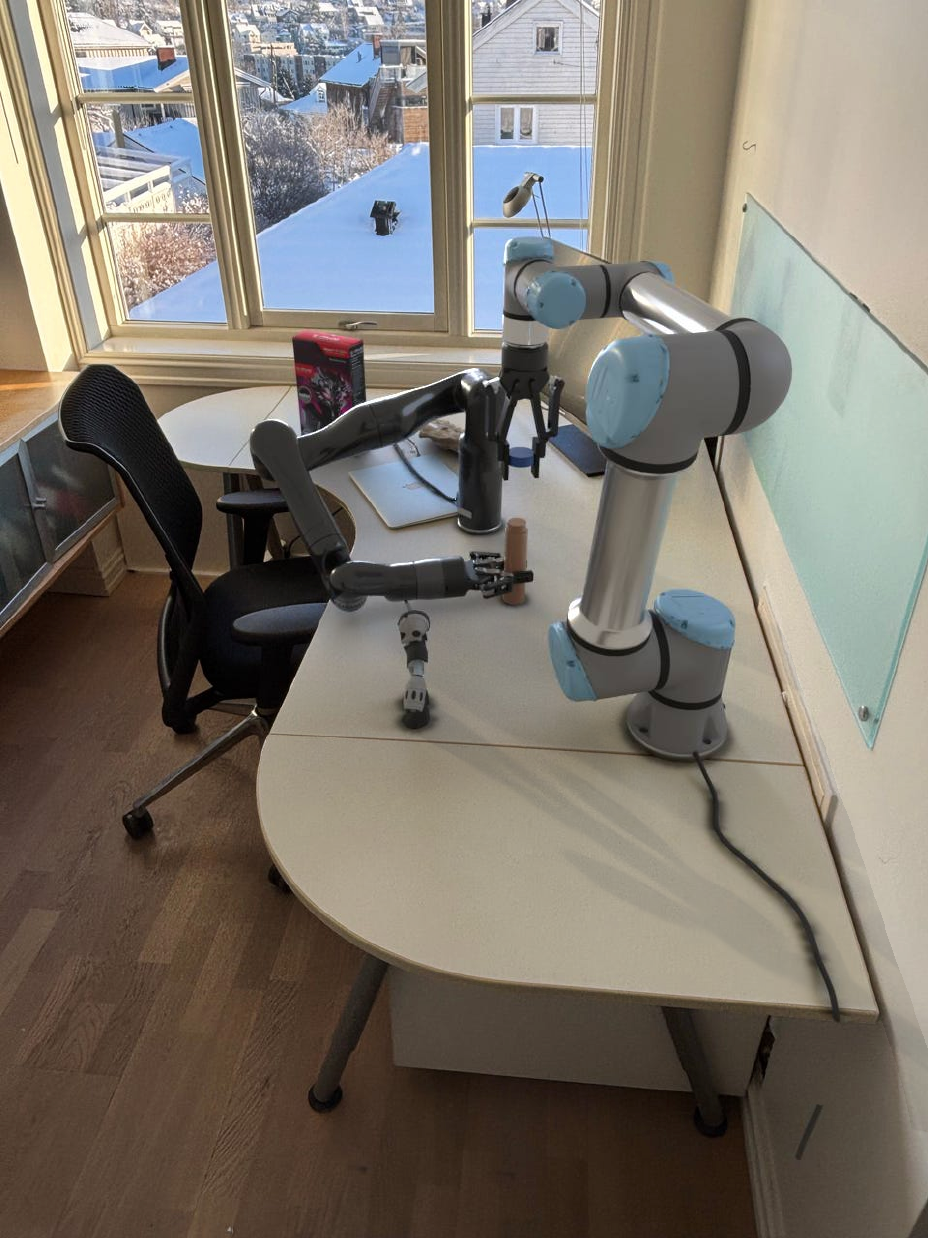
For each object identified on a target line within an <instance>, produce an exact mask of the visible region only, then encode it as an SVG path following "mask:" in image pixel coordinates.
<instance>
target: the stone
mask: <svg viewBox="0 0 928 1238" xmlns="http://www.w3.org/2000/svg"><path fill="white" fill-rule="evenodd" d="M464 432H465V429H463V428H462V427H459V426H456V425H455V424H454V423H451V422H450V421H449V420H443V419H440V418H439V419H436V420H434V421H432V422H430V423H429V424H427V425H426V426H424V427H423V428H422V429H421V430H419V431H418V437H419V439H430V440H431V441H432V443H433V444H436V445H438V446H439V447H440V449H443V450H446V451H448V450H451V451H453V452H456V453H458V454H459V438H460V436H461V435H462V434H463V433H464Z"/></svg>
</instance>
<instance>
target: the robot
mask: <svg viewBox="0 0 928 1238" xmlns="http://www.w3.org/2000/svg"><path fill="white" fill-rule="evenodd" d="M403 602H404V604H405V607H406V610H407V611H406V612H404V613H403V614H402V615H400V616H399V617H398V621H397V623H396V624H397V625H396V626H397V627H398V629H397V630H398V631H399V635H400V644H401V645H403V649H404V652H405V654H406V669H408V671H409V674H410V677H409V678H408V679H407V680H408V681H407V682H406V685H405V689H404V696H403V697H402V700H401V705H402V706H403V708H404V713H403V716H402V718H401V723H402V725H404V726H405V727H406V728H410V729H419V728H421V727H424V726H426V725H428V724H429V722H430V719H431V717H430V716H431V715H430V709H429V706H430V695H429V692H428V689H427V683H426V678H425V677H424V674H425V664H427V663H429V650H428V648H427V641H429V640H428V639H429V638H428V634H427V633H428V632H430V629H431V620H430V617H429V615H428V614H427V613H426V612H424V611H422V610H419V609H413V608H412V606H411V604H410V602H409V601H407V599H405V600H404V601H403Z"/></svg>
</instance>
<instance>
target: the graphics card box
mask: <svg viewBox="0 0 928 1238" xmlns="http://www.w3.org/2000/svg"><path fill="white" fill-rule="evenodd" d="M291 343H292V352H293V361H294V372H295V373H294V374H295V383H296V392H297V405H298V415H299V424H300V436H304V435H307V434H311V433H314V432H317V431H319V430H321V429H323V428H324V427H326V426H328V425H329V424H331V423H332V422H333V421H335V420H336V419H337V418H338V417H340V416H341V415H343V414H344V413H345V412H347V411H348V410H350V409H351V408H353V407H355V406H357V405H359V404H362V403H365V402H367V389H366V370H365V349H364V348H365V347H364V340H363V338H355V337H350V336H344V335H338V334H334V333H327V332H322V331H318V330H317V331H316V330H311V329H304V330H301V331H299V332H297V333H295V335H293V336H292V337H291Z"/></svg>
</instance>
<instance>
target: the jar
mask: <svg viewBox="0 0 928 1238" xmlns="http://www.w3.org/2000/svg"><path fill="white" fill-rule="evenodd" d="M506 525H507V527H506V528H505V530H504V555H503V557H504V571H503V572H512V573H513V572H516V571H526V570H527V568H526V560H527V557H528V536H529V535H528V534H529V529H528V528H527V521H526V520H525V519H524V518H521V517H512V518H510V519H508V521H507V522H506ZM503 579H505V578H503ZM502 588H506V587H502ZM525 592H526V583H520V584H514V585H513V587H512V592H510V593H506V594H503V595H502V600H503V602H504V603H505V604H508V605H511V606H517V605H521V604H522V603H524V602H525V594H526V593H525Z"/></svg>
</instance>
